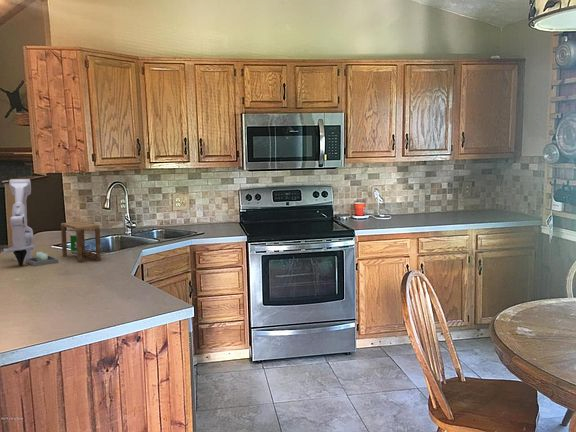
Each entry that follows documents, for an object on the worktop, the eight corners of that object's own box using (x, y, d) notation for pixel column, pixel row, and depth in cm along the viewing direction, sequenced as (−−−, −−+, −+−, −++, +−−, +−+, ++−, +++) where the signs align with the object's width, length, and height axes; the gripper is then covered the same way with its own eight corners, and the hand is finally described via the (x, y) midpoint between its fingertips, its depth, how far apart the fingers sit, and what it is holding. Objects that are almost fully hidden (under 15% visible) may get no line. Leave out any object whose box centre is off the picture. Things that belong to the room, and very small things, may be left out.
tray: (26, 263, 269) (25, 258, 268) (49, 260, 277) (49, 255, 277) (34, 267, 260) (34, 262, 260) (58, 263, 269) (58, 259, 268)
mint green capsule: (39, 263, 267) (38, 254, 266) (46, 262, 269) (45, 253, 269) (41, 264, 264) (41, 255, 263) (49, 263, 267) (48, 254, 266)
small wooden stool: (62, 257, 285) (60, 223, 282) (83, 254, 293) (82, 221, 291) (79, 263, 269) (77, 227, 267) (100, 260, 278) (99, 225, 275)
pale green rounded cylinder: (35, 261, 270) (35, 252, 270) (42, 260, 273) (42, 251, 272) (38, 262, 268) (37, 253, 267) (45, 261, 270) (44, 252, 270)
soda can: (70, 253, 294) (69, 233, 293) (72, 251, 301) (71, 231, 300) (84, 253, 296) (83, 232, 295) (85, 250, 303) (84, 230, 302)
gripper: (6, 241, 251) (7, 268, 253) (37, 238, 262) (38, 264, 263) (1, 239, 256) (3, 266, 258) (32, 236, 267) (33, 261, 268)
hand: (20, 264), depth 261 cm, fingers closed
